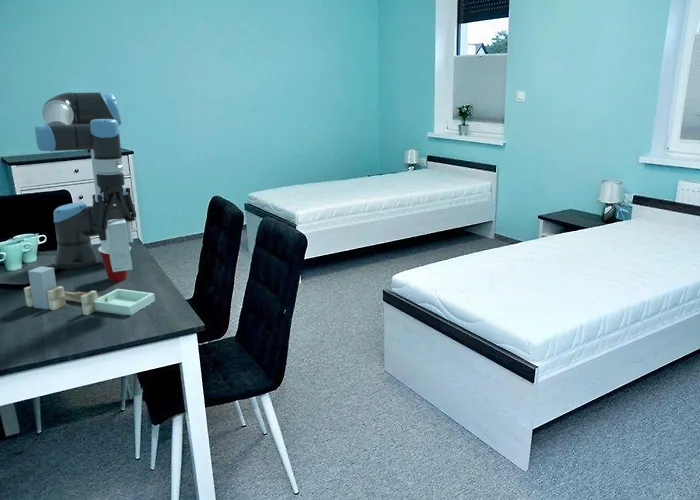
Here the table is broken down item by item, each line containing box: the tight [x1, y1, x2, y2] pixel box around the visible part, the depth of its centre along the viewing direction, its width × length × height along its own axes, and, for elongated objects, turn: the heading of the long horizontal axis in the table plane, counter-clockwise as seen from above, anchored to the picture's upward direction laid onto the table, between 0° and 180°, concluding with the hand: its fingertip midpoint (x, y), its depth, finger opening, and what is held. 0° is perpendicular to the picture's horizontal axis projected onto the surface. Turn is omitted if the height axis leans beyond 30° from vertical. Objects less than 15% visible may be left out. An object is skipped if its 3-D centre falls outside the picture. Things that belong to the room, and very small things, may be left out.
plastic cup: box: [97, 245, 132, 282], centre depth 199 cm, size 11×11×12 cm
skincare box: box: [106, 218, 133, 272], centre depth 170 cm, size 8×6×15 cm
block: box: [27, 266, 58, 310], centre depth 174 cm, size 5×5×12 cm
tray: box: [94, 288, 156, 317], centre depth 176 cm, size 12×14×3 cm
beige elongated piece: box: [23, 285, 108, 316], centre depth 175 cm, size 9×24×6 cm, turn 73°
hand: (117, 245), depth 170 cm, fingers closed on skincare box, 9 cm apart
